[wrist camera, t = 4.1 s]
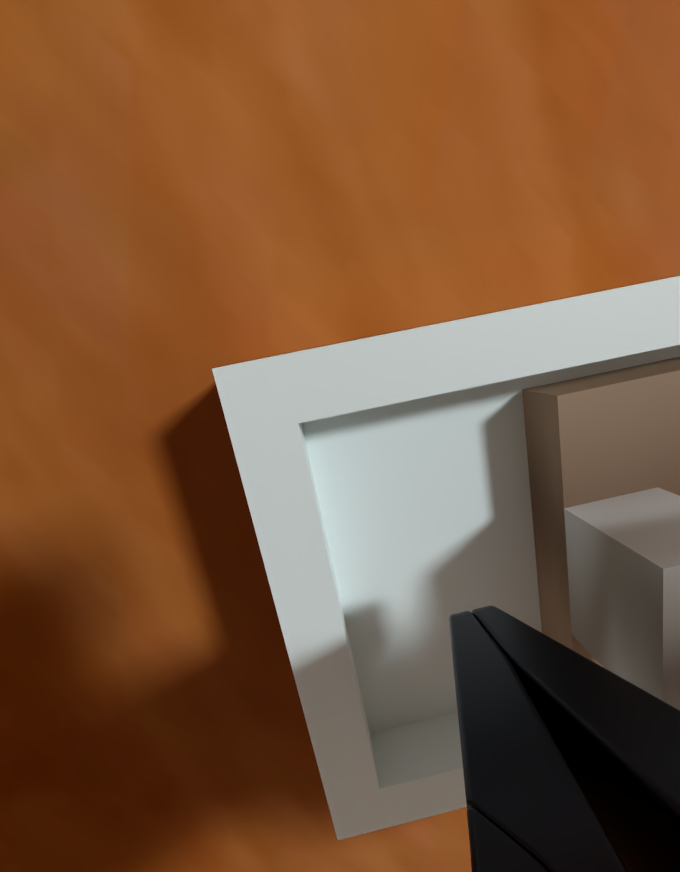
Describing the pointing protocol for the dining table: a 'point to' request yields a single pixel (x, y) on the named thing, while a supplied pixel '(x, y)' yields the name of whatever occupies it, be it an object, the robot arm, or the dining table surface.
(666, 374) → the cover plate
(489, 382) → the open box
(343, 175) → the dining table surface
